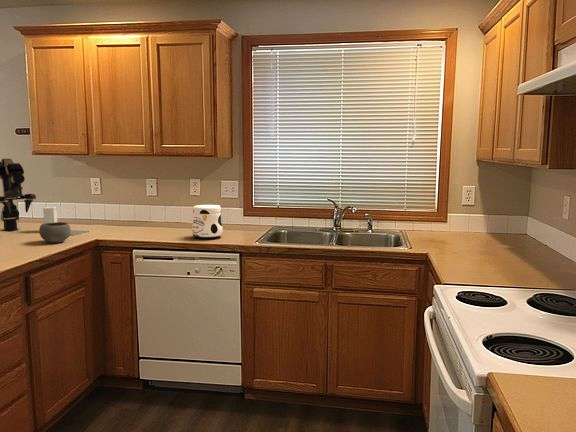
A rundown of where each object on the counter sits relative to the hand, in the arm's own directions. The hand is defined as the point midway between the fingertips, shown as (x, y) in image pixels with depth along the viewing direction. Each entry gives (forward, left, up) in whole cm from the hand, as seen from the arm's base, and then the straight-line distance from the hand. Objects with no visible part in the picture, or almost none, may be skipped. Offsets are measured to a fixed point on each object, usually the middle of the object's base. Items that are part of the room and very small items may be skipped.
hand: (18, 213), depth 277 cm
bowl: (+31, -9, -13) cm, 35 cm away
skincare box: (+7, +18, -13) cm, 23 cm away
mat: (+19, +18, -13) cm, 29 cm away
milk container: (+102, +28, -13) cm, 106 cm away
